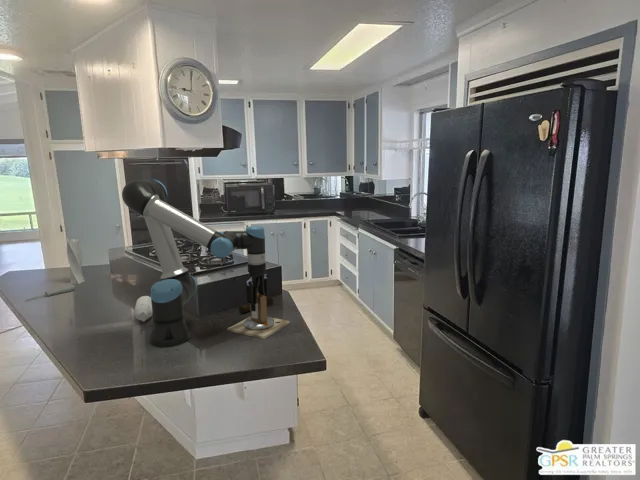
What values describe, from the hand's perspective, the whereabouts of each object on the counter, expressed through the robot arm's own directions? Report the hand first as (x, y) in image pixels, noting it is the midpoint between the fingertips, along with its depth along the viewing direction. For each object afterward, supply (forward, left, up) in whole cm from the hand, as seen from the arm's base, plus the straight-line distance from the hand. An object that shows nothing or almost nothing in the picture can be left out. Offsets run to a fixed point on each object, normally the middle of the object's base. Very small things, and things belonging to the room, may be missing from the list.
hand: (258, 316), depth 183 cm
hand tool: (-16, +19, -5) cm, 25 cm away
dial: (0, 0, -4) cm, 4 cm away
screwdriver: (-130, -14, -5) cm, 131 cm away
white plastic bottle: (-54, -14, -5) cm, 56 cm away
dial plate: (0, 0, -5) cm, 5 cm away
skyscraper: (-142, +8, -5) cm, 142 cm away
